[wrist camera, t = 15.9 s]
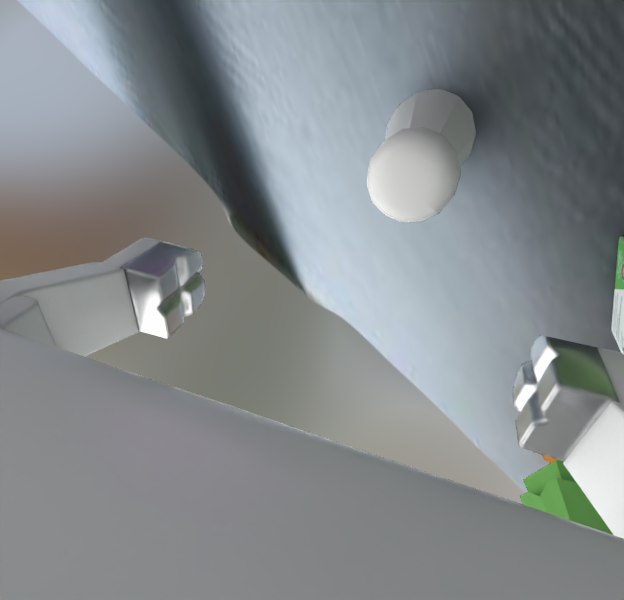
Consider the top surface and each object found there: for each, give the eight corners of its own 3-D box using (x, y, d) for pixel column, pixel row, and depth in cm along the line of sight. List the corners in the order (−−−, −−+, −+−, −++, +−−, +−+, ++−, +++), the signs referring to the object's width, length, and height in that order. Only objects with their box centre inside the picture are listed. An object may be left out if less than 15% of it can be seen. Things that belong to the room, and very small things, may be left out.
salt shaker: (392, 174, 30) (351, 243, 20) (388, 92, 28) (338, 124, 17) (473, 169, 28) (473, 242, 18) (478, 79, 25) (482, 106, 15)
